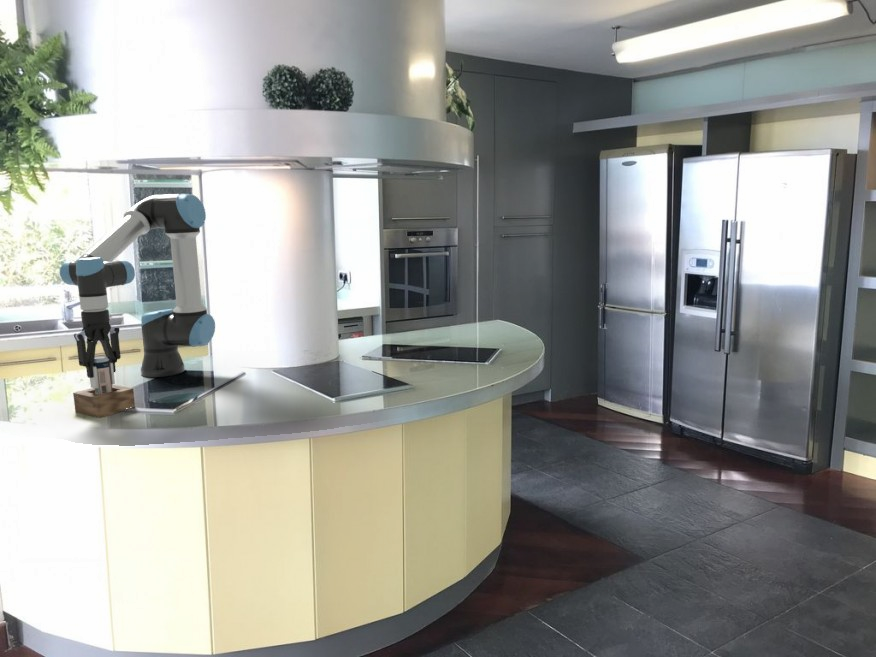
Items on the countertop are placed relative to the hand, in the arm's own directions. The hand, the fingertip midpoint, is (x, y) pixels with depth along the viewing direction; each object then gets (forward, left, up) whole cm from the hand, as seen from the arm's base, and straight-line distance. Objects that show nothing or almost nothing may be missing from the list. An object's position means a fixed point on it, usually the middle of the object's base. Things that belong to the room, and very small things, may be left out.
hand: (103, 385), depth 218 cm
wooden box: (0, 0, -8) cm, 8 cm away
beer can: (0, 0, -4) cm, 4 cm away
